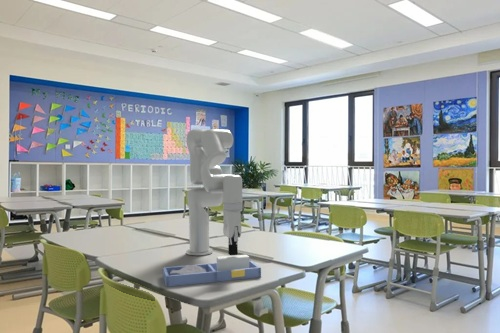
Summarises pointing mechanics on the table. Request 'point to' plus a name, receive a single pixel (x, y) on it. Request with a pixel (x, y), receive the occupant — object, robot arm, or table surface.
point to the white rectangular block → (232, 262)
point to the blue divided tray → (209, 274)
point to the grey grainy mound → (188, 270)
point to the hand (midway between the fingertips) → (233, 254)
